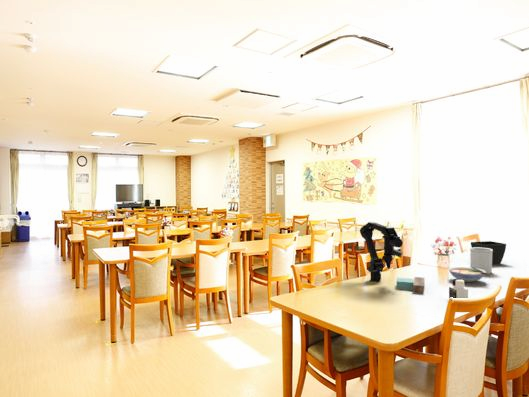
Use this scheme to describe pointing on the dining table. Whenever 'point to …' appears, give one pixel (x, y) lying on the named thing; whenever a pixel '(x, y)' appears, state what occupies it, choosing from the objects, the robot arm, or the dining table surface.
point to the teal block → (404, 283)
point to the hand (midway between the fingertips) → (388, 268)
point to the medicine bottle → (458, 289)
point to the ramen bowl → (467, 273)
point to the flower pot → (495, 246)
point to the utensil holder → (481, 258)
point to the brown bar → (418, 285)
